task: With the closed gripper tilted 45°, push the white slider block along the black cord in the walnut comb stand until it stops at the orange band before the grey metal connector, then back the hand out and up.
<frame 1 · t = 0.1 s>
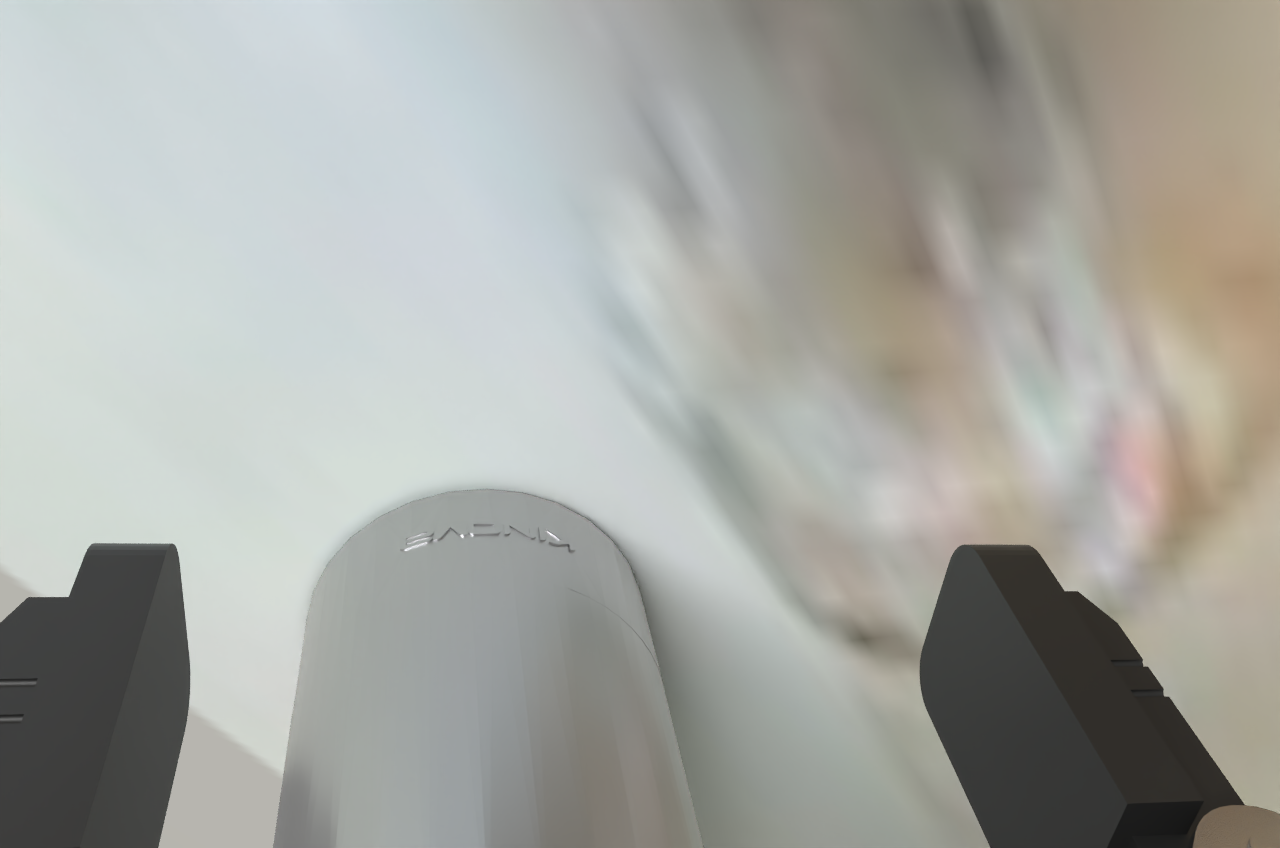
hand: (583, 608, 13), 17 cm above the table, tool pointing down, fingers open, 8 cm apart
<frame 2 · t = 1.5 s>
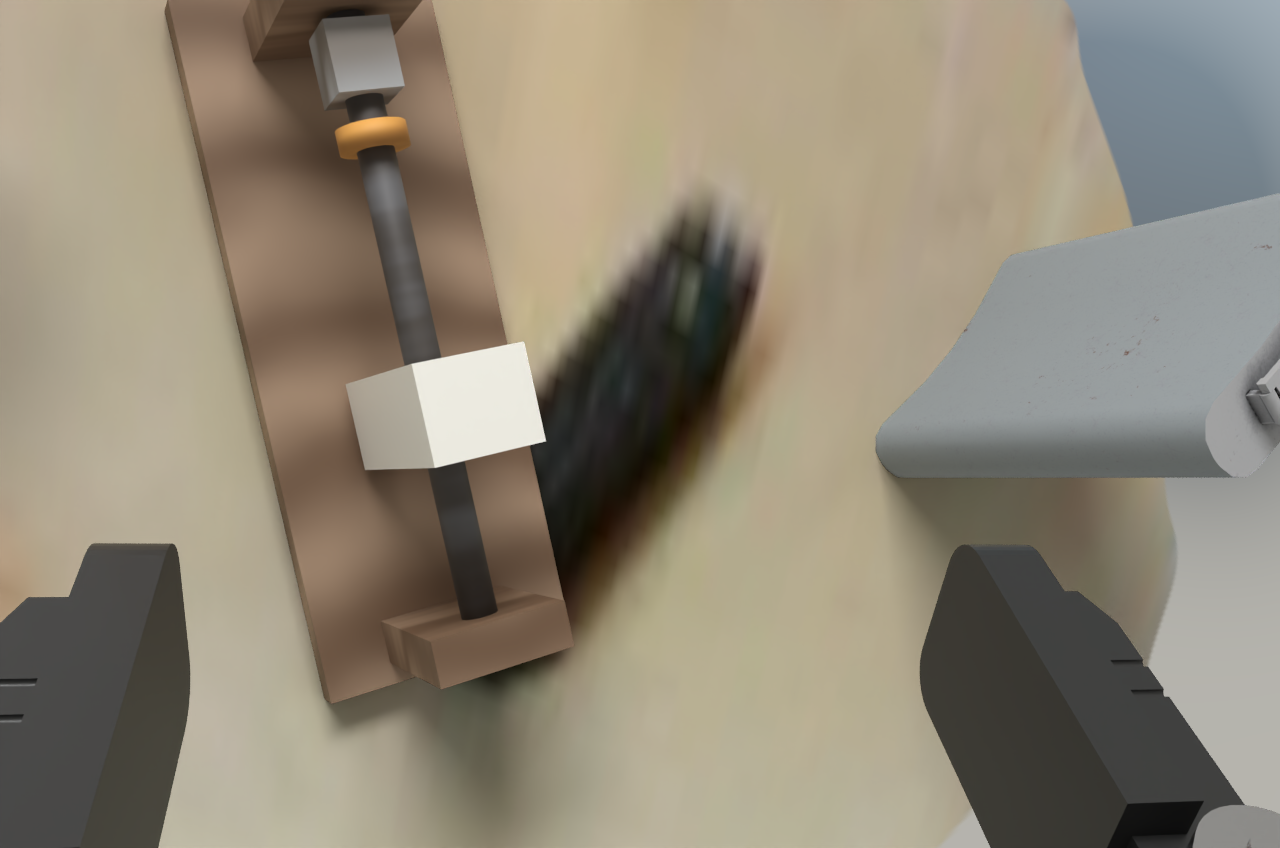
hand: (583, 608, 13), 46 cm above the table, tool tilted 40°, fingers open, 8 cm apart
cord stand: (373, 336, 58), on the table
white slider block: (438, 410, 52), point 8 cm above the table, slide at 0.0 cm
flask: (964, 368, 75), on the table
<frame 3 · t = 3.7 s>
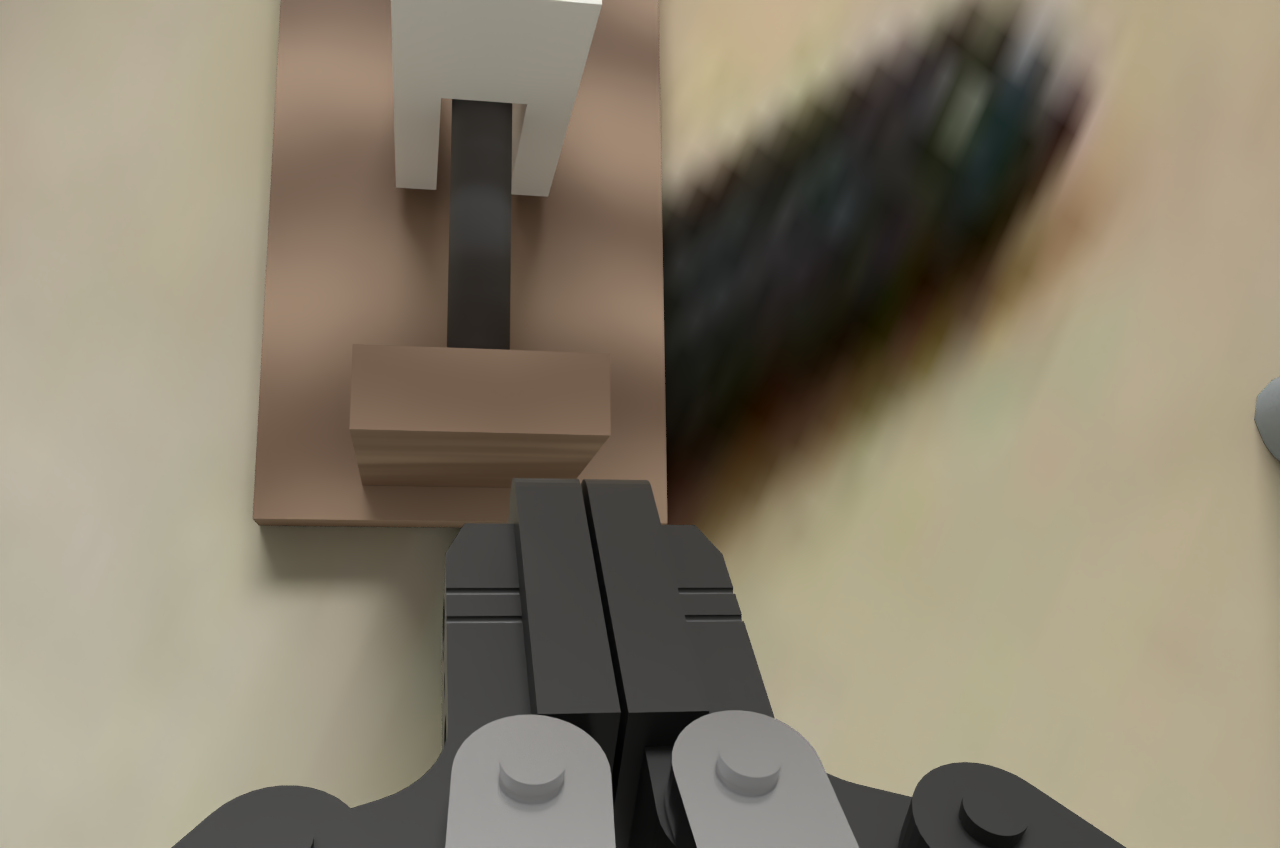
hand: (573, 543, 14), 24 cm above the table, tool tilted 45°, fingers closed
cord stand: (472, 47, 41), on the table
white slider block: (484, 40, 32), point 8 cm above the table, slide at 0.0 cm
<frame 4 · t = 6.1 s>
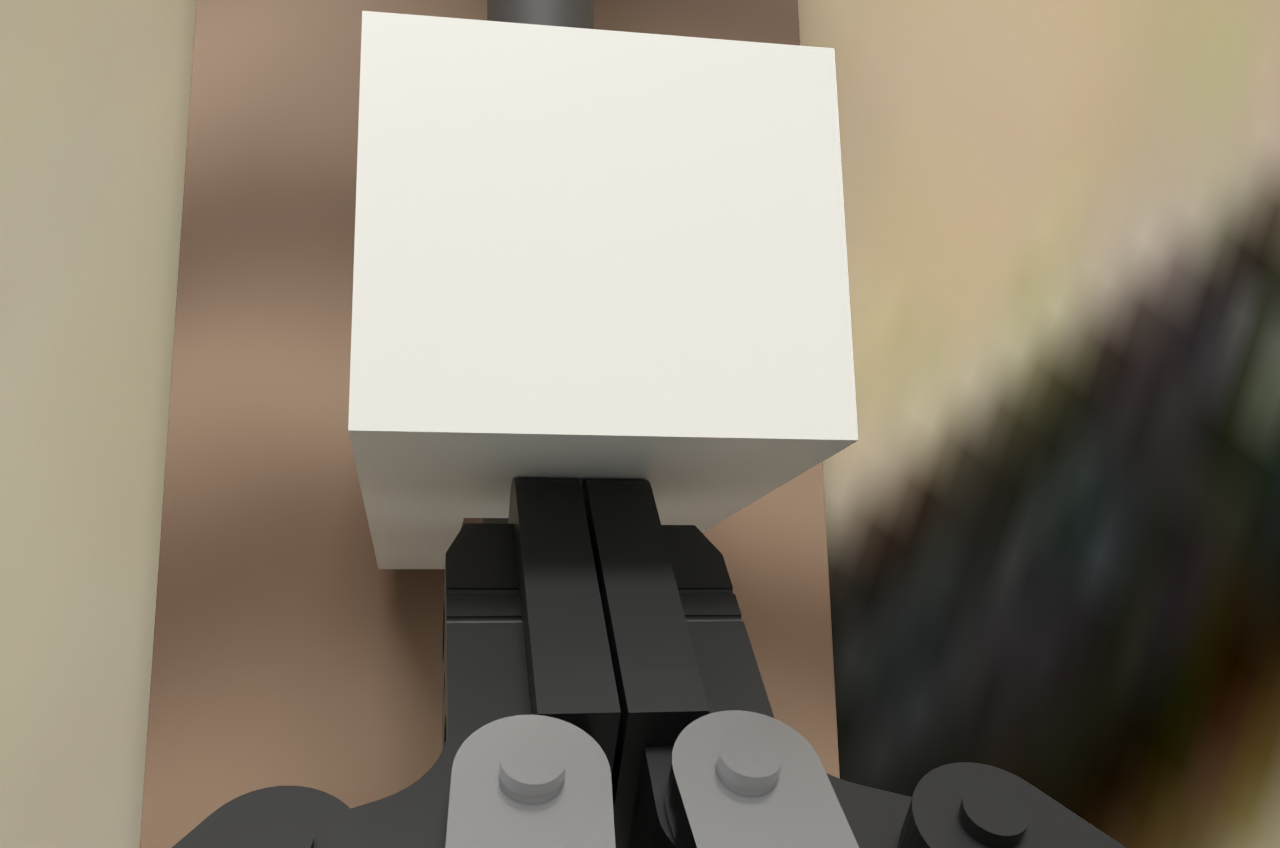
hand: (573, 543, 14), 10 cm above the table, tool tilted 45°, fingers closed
cord stand: (504, 300, 25), on the table
white slider block: (545, 377, 17), point 8 cm above the table, slide at 0.4 cm, touching gripper
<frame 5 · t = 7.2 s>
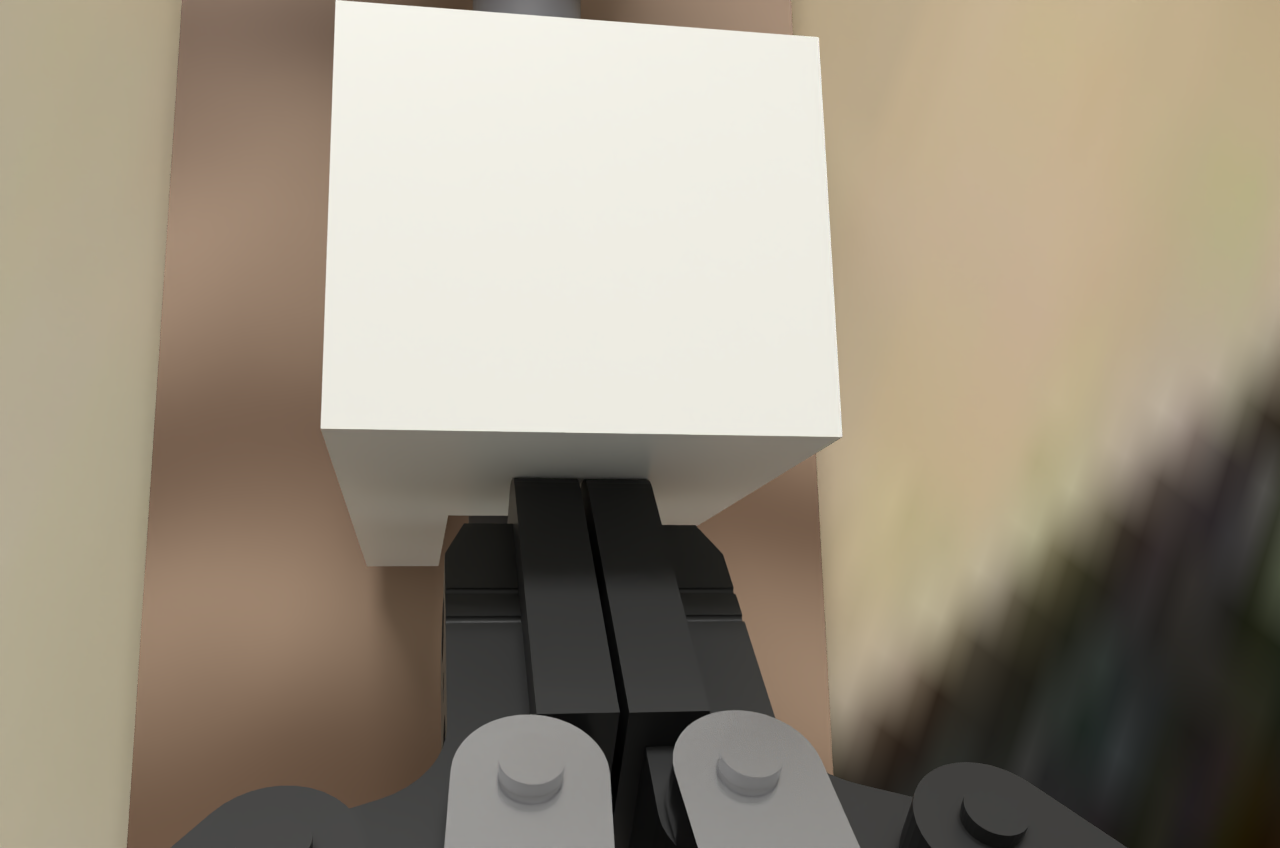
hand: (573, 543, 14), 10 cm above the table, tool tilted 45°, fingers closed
cord stand: (495, 498, 24), on the table
white slider block: (531, 373, 16), point 8 cm above the table, slide at 4.5 cm, touching gripper
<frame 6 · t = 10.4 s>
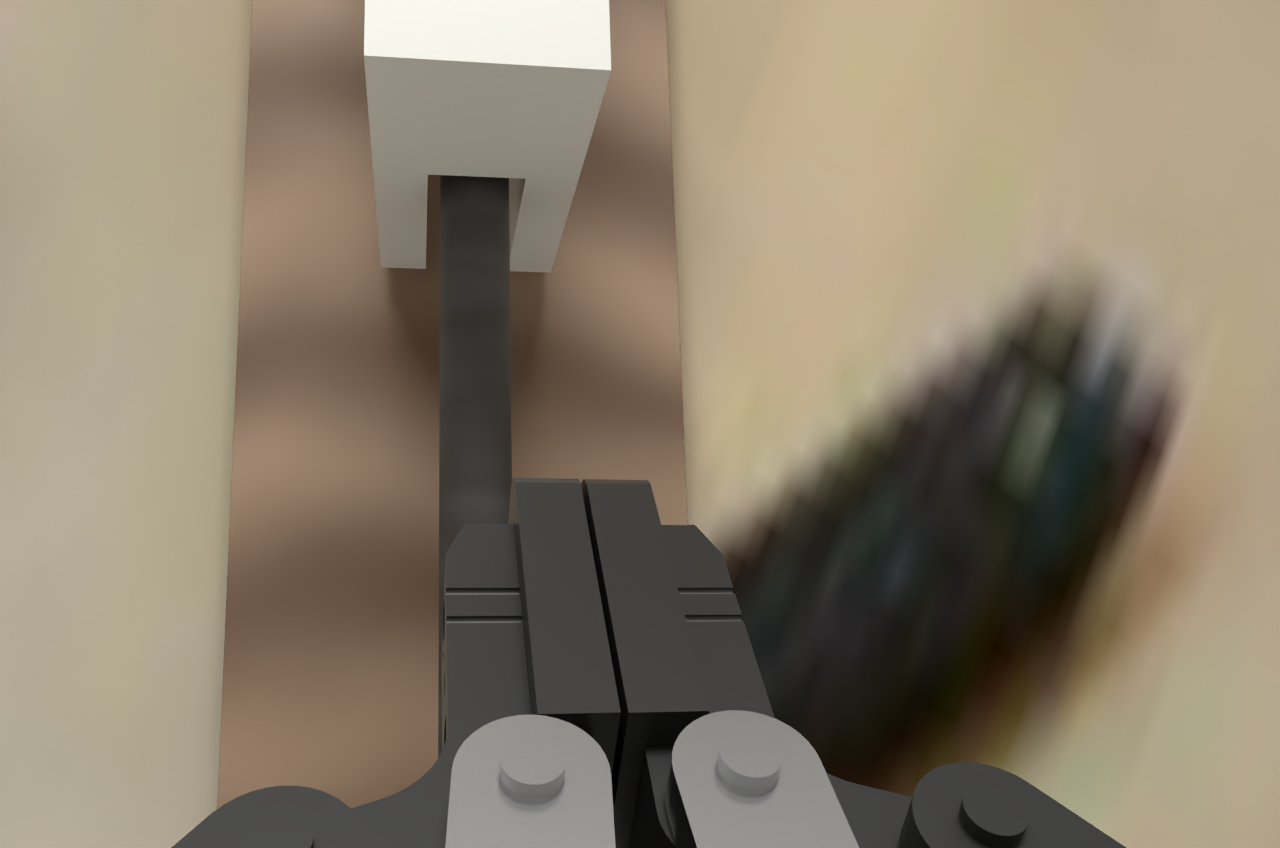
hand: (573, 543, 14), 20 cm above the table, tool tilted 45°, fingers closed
cord stand: (463, 397, 35), on the table
white slider block: (475, 106, 29), point 8 cm above the table, slide at 9.0 cm
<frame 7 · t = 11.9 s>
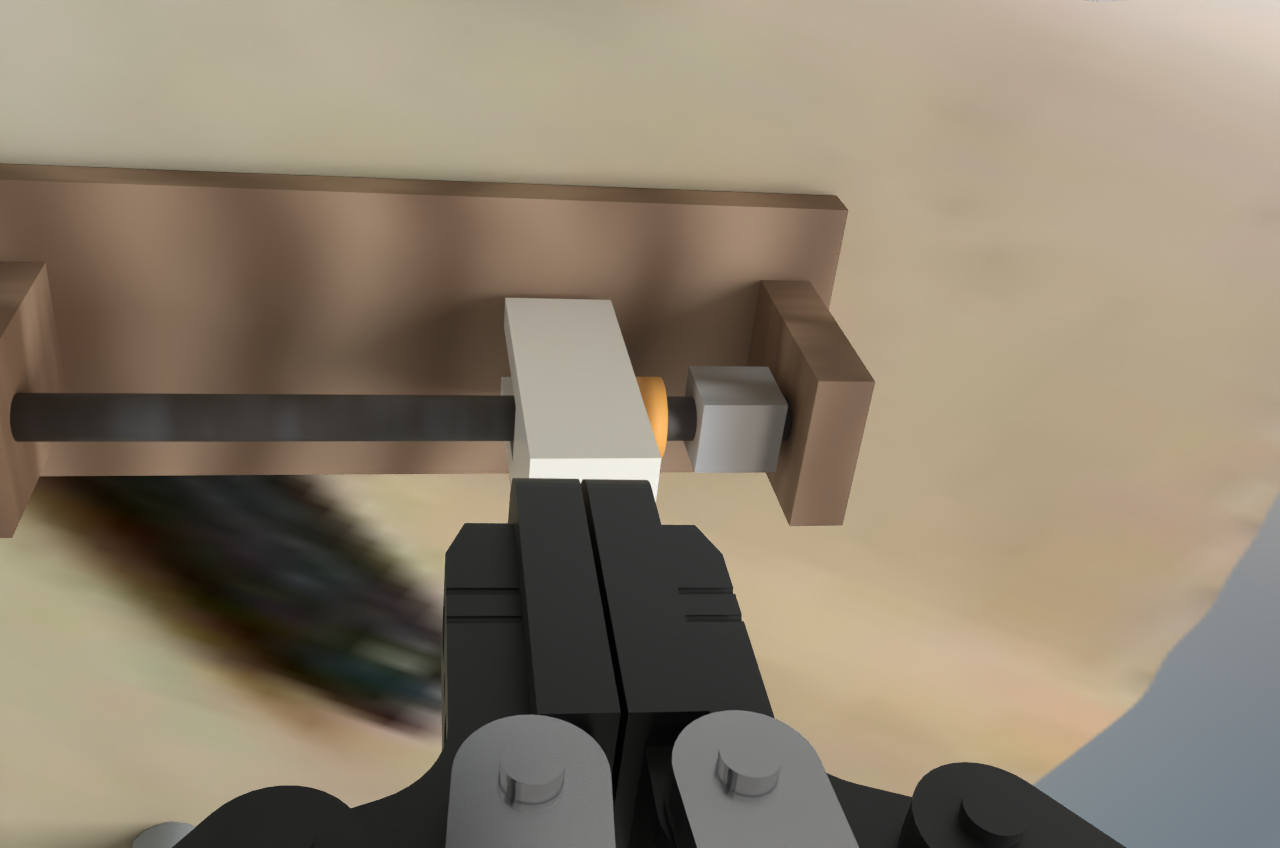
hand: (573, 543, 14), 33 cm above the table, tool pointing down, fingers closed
cord stand: (421, 325, 48), on the table
white slider block: (570, 427, 43), point 8 cm above the table, slide at 9.0 cm
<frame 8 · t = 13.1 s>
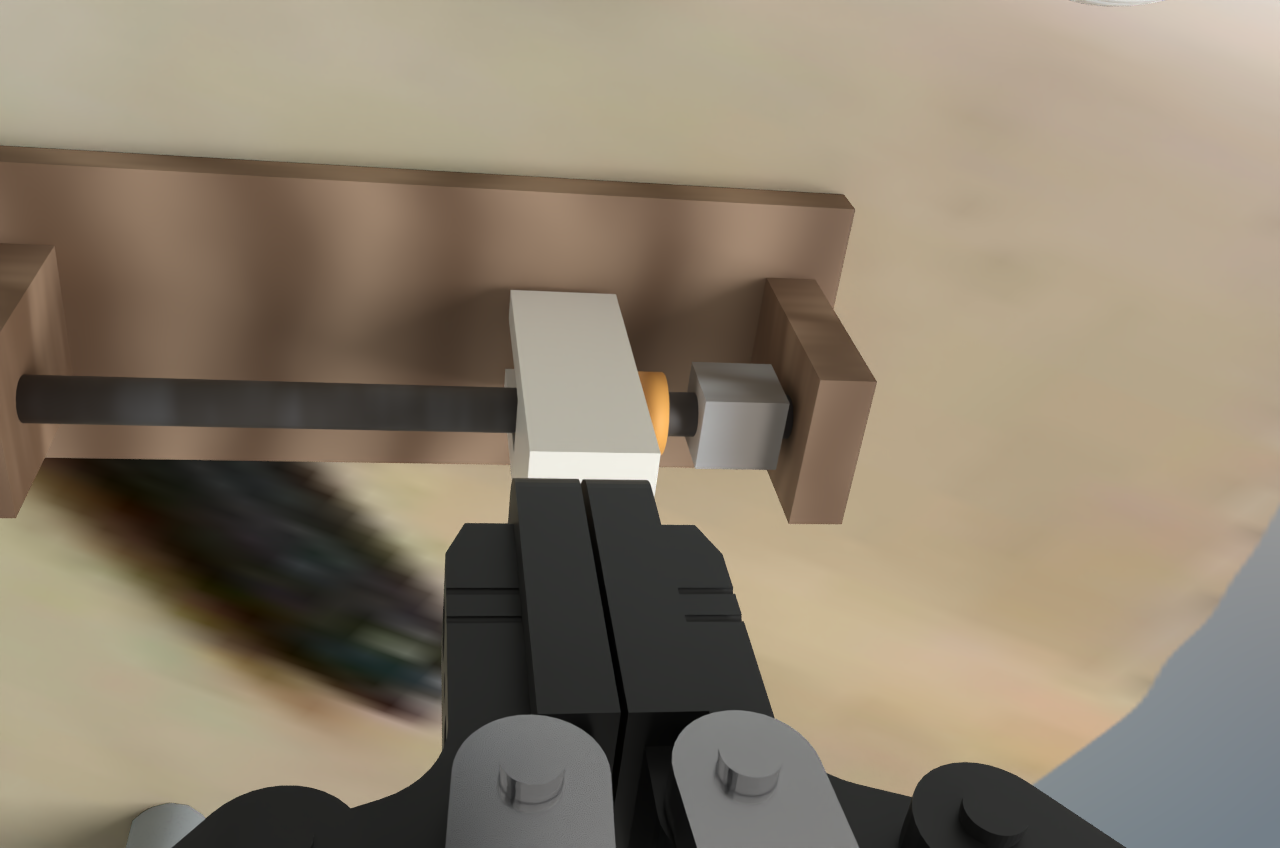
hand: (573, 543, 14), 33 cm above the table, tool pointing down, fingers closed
cord stand: (427, 315, 48), on the table
white slider block: (572, 420, 43), point 8 cm above the table, slide at 9.0 cm
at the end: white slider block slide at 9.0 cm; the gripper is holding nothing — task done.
